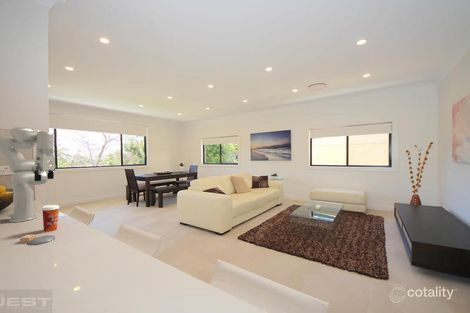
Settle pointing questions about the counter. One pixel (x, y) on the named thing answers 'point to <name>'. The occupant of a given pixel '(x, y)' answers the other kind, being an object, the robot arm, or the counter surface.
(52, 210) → the paper cup
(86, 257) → the counter surface
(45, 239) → the gray paddle
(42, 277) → the counter surface
